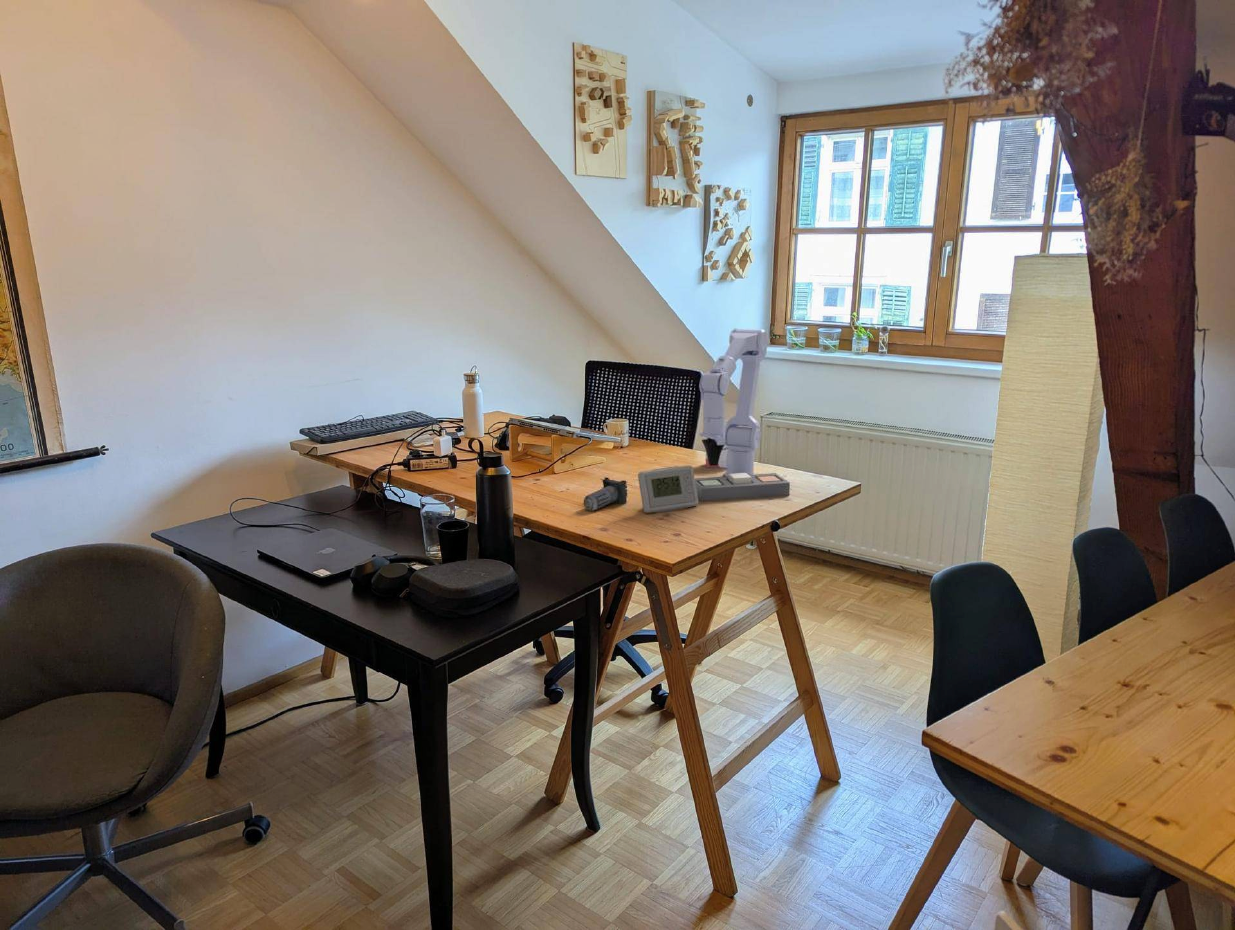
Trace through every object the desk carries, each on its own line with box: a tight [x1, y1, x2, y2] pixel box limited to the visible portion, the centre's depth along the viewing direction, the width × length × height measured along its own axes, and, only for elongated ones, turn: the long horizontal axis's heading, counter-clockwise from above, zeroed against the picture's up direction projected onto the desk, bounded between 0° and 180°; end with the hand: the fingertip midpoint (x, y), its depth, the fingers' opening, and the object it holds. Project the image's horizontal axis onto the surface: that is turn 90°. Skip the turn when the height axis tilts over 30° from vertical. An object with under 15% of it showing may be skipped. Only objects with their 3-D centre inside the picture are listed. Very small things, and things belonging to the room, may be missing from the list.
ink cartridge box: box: [705, 419, 729, 468], centre depth 250 cm, size 9×5×15 cm, turn 84°
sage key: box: [699, 480, 722, 486], centre depth 220 cm, size 5×5×2 cm
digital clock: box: [637, 465, 699, 514], centre depth 208 cm, size 16×9×11 cm, turn 102°
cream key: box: [728, 473, 751, 484], centre depth 221 cm, size 5×5×2 cm
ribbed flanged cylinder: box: [582, 476, 628, 512], centre depth 211 cm, size 9×8×12 cm
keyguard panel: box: [694, 472, 791, 502], centre depth 221 cm, size 11×25×4 cm, turn 100°
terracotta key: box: [757, 476, 781, 482], centre depth 223 cm, size 5×5×2 cm
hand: (713, 465), depth 219 cm, fingers closed
